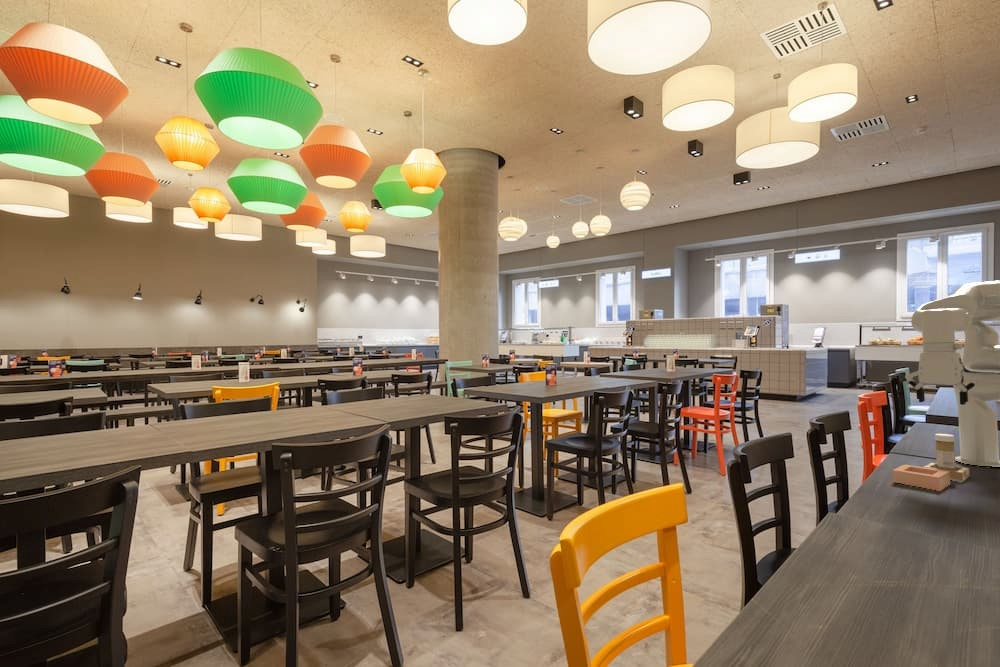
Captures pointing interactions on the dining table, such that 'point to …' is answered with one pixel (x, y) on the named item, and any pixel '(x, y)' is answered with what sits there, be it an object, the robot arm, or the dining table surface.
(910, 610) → the dining table surface
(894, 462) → the dining table surface
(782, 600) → the dining table surface
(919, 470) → the terracotta socket
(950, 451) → the sprinkles bottle
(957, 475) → the wooden collar
